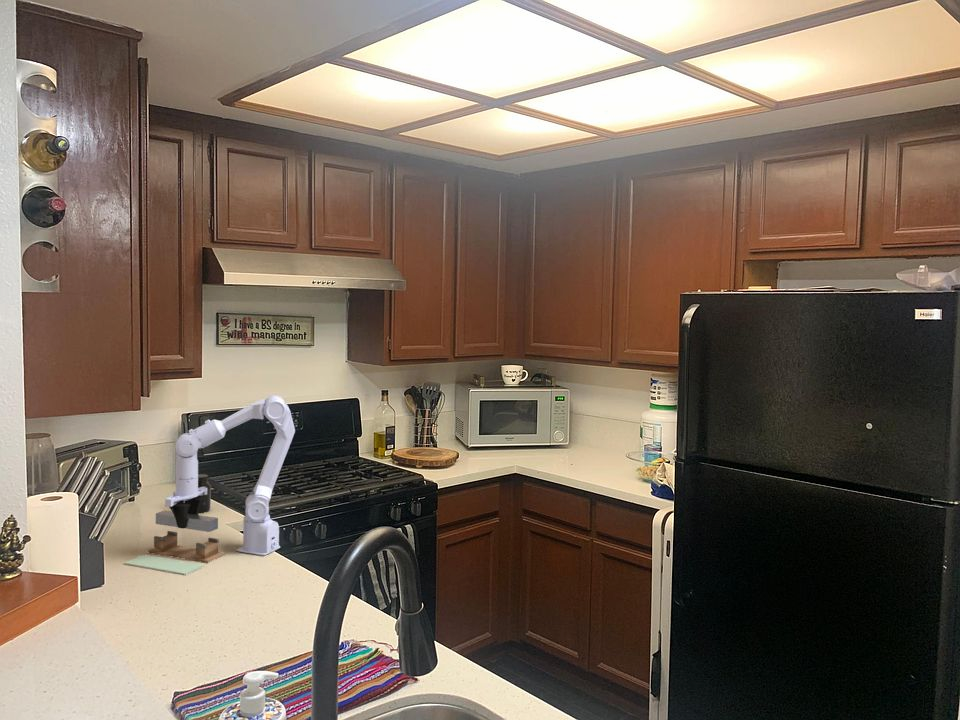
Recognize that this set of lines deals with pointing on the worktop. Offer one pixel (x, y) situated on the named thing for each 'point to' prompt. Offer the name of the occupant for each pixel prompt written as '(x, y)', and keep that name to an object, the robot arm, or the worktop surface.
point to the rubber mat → (164, 564)
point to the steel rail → (188, 521)
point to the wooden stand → (186, 548)
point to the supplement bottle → (207, 498)
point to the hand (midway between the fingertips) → (186, 525)
